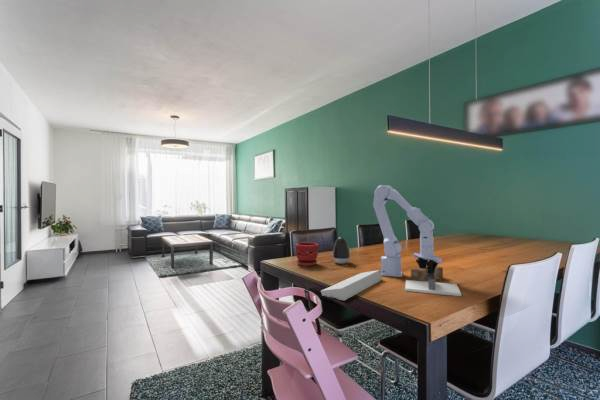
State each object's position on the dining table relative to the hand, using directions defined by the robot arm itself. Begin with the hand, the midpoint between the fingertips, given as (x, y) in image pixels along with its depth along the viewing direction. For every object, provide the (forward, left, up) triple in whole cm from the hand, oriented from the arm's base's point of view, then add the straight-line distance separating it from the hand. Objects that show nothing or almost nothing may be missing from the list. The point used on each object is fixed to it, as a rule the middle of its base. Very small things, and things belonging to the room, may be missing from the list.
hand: (427, 275), depth 135 cm
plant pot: (-63, +13, -2) cm, 64 cm away
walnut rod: (0, 0, -2) cm, 2 cm away
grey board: (+1, -14, -2) cm, 15 cm away
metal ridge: (+1, -14, -2) cm, 15 cm away
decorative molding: (-30, -22, -2) cm, 37 cm away
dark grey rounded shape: (-45, +22, -2) cm, 50 cm away
